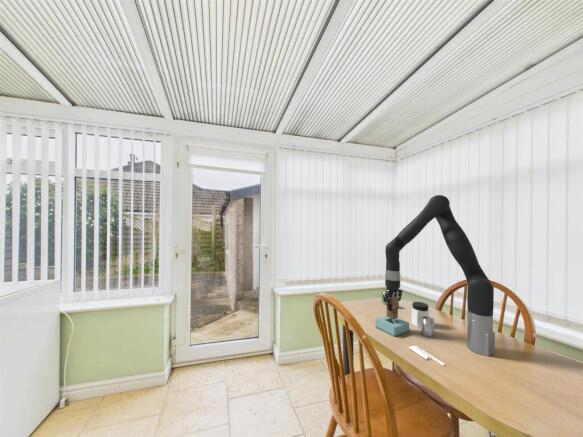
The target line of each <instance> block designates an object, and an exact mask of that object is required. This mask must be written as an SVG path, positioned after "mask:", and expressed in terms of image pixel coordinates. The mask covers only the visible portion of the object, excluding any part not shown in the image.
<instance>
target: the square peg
mask: <svg viewBox="0 0 583 437" xmlns="http://www.w3.org/2000/svg"><path fill="white" fill-rule="evenodd" d="M388 297H389V296H388ZM398 297H399V296H394V297H393V300H392V310H391V311H389V310H388V309H387V308H386V316H387V317H389V318H391V319H396V318H399V316H398V315H399V307H398ZM389 298H391V297H389ZM389 301H390V299H389Z"/></svg>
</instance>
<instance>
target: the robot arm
mask: <svg viewBox="0 0 583 437" xmlns="http://www.w3.org/2000/svg"><path fill="white" fill-rule="evenodd" d="M450 204H451V203H450V199H449V198H448V197H446V196H445V195H444V194H443V195H442V194H437V195H434V196H432V197H430V199H429V200H428V202H427V203H426V205H425V206H424V207H423V209H422V210H421V211H420V213H419V214H417V215H416V217H414V218H413V219H412V220H411V221H410V222H409V223H408V224H407V225H406V226H405V227H403V229H402V230H401V231H399V233H397V236H395V237H394V238H392V240H391V241H390V242H388V243H387V244H386V245H385V260H386V261H385V273H384V274H385V275H384V276H385V279H384V281H385V282H384V284H385V285H384V286H385V288H386V289H385V291H382V293H381V294H382V297H383V299H384V302H385V303H387V304H386V310H387V309H388V310H389V311H391V310H392V300H393V297H394V296H398V301H399V302H400V301H401V300H402V295H403V289H400V288H401V262H400V252H401V251H402V250H403V249H404V248H405V247H406V245H408V244H410V243H411V242H412V241H413V240H414V239H415V238H416V237H417V236H418V235H419V234H420V233H421V232H422V231H423V230H424V228H425V227H426V226H427V225H429V223H430V222H431V221H432V220H433V219H435V220H436V221H437V223H438V225H439V227H440V230H441V234H442V236H443V239H444V241H445V244H446V246H447V248H448V250H449V252H450V253H451V255H452V257H453V259H454V260H455V262H457V264H458V265H459V267H460V268H461V270H462V271H463V275H464V277H465V279H466V282H467V289H466V290H467V293H466V294H467V295H466V296H467V297H466V298H467V302H466V304H467V310H466V311H467V314H466V315H467V316H466V318H467V320H466V321H467V323H466V324H467V325H466V326H467V327H466V331H467V332H466V347H467V349H468V350H470V351H471V352H473V353H476V354H479V355H484V356H485V357H490V356H492V355H494V354H496V352H495V351H496V350H495V349H496V348H495V347H496V346H495V344H496V332H495V331H494V305H495V304H494V302H495V299H494V298H495V297H494V296H495V295H494V294H495V293H494V292H495V290H494V285H493V283H492V281H491V280H490V279H489V278H488V276H487V274H485V271H484V270H483V268H482V267H481V265H480V263H479V260H478V257H477V254H476V252H475V250H474V248H473V246H472V243H471V241H470V240H469V238H468V236H467V234H466V233H465V231H464V229H463V228H462V227H461V225H460V224H459V223H458V222H457V220H456V218H455V217H454V216H455V215H454V214H453V211H452V209H451V206H450ZM388 296H389V297H391V298H389V297H388ZM389 299H390V301H389ZM385 303H384V304H385ZM493 353H494V354H493ZM491 354H492V355H491Z"/></svg>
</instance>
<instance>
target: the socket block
mask: <svg viewBox="0 0 583 437" xmlns="http://www.w3.org/2000/svg"><path fill="white" fill-rule="evenodd" d="M375 328H376V329H377V330H379V331H381V332H383V333H386V334H387V335H389V336H392V337H394V338H395V337H398V336H402V335H405V334H407V333H409V332H410V322H408V321H405V320H404V319H401V318H399V317H398V318H396V319H391V318H389V317H387V315H385V316H382V317H381V316H380V317H378V318H375Z"/></svg>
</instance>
